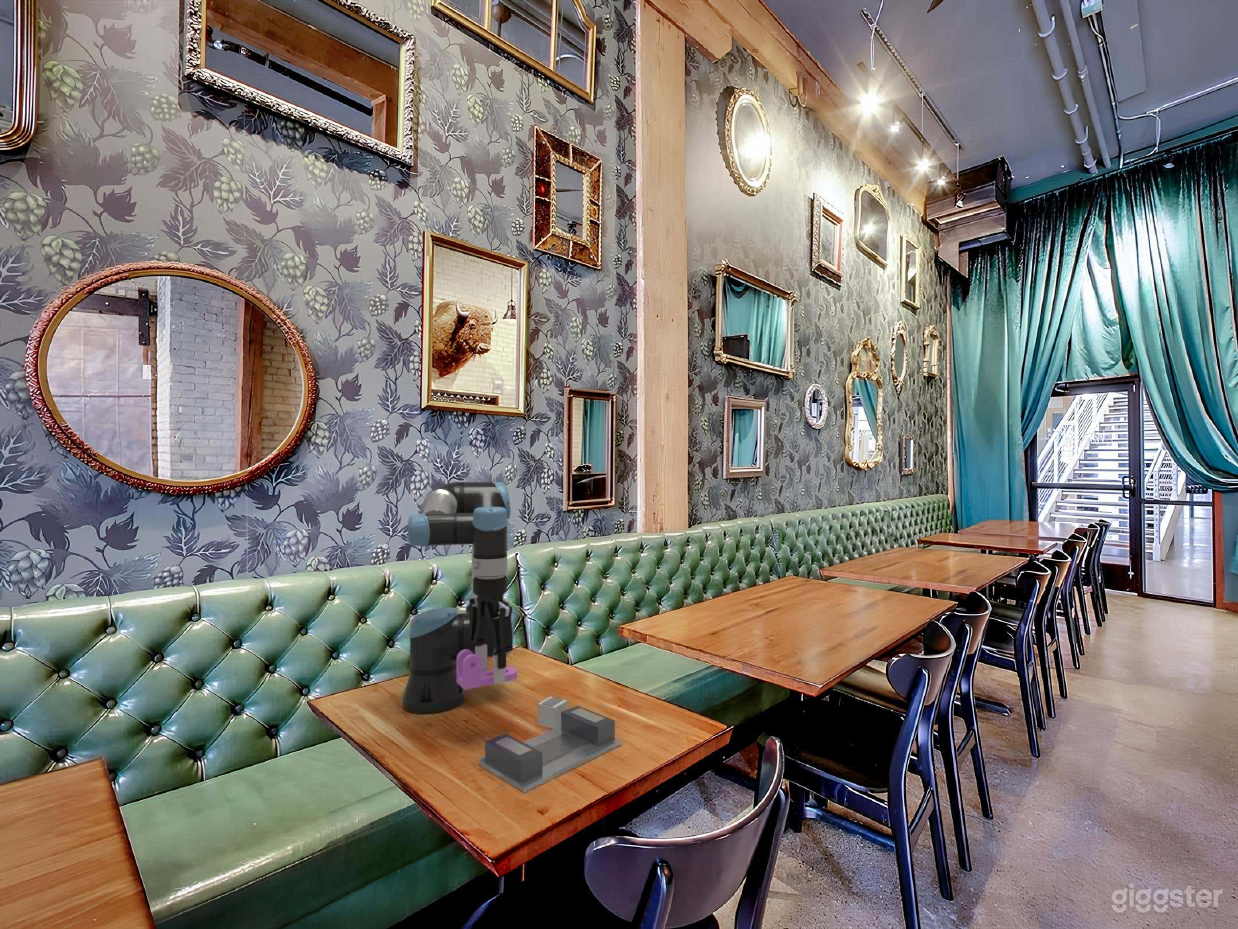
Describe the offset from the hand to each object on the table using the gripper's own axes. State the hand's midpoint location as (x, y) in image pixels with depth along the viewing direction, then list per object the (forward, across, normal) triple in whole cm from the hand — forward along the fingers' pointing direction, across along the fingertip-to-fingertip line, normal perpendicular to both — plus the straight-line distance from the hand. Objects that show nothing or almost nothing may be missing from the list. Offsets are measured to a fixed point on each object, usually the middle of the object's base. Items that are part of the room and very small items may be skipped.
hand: (490, 677), depth 131 cm
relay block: (+13, +6, +14) cm, 20 cm away
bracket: (+1, 0, 0) cm, 1 cm away
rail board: (+13, +18, +4) cm, 22 cm away
